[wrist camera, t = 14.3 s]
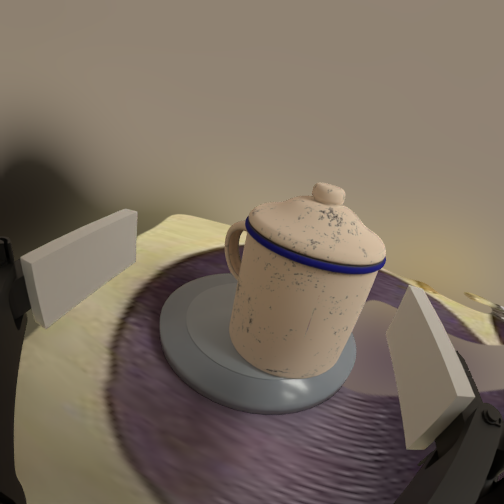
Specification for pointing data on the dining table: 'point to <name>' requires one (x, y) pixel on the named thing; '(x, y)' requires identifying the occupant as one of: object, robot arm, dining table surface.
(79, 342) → the dining table surface
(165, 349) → the dish
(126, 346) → the dining table surface
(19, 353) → the robot arm
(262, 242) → the teacup with lid
